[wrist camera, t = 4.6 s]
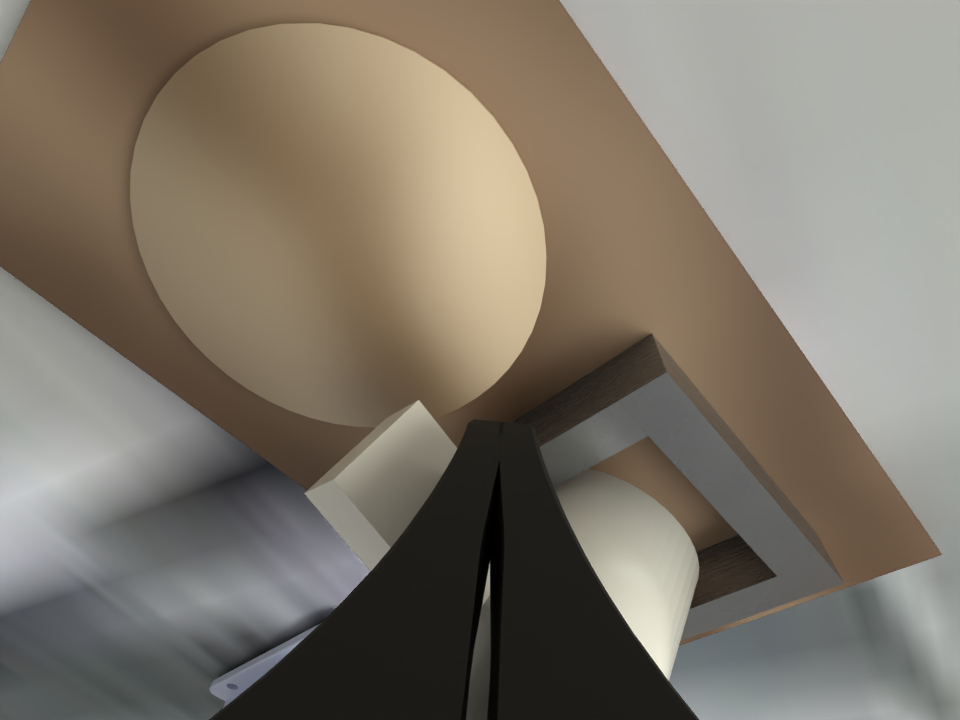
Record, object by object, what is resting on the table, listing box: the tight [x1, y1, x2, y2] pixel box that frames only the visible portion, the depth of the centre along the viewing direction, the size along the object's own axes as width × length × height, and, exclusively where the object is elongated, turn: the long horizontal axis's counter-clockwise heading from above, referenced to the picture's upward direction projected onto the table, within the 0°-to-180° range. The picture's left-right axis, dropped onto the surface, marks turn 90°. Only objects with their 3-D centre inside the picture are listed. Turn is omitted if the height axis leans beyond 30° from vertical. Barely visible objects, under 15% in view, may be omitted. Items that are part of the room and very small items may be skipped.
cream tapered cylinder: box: [304, 400, 699, 720], centre depth 12 cm, size 9×5×6 cm, turn 41°
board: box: [0, 0, 942, 645], centre depth 14 cm, size 13×24×1 cm, turn 42°
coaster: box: [130, 23, 547, 428], centre depth 12 cm, size 9×9×1 cm
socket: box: [511, 334, 844, 641], centre depth 15 cm, size 8×8×2 cm
